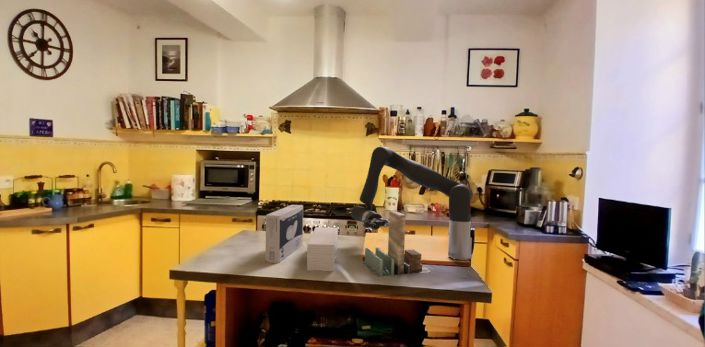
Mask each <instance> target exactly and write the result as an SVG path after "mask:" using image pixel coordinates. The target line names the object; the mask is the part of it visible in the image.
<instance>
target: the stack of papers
mask: <svg viewBox="0 0 705 347" xmlns="http://www.w3.org/2000/svg"><path fill="white" fill-rule="evenodd" d="M338 234H339V228H338V227H333V226H332V227H327V226H326V227H325V226H324V227H323V226H322V227H321V226H320V227H319V226H315V228H314V230H313V232H312V234H311V236H310V238H309V241H308V242H307V243H306V244H307V245H306V246H307V252H306V253H307V257H306V259H307V260H306V271H313V270H322V271H321V272H324V271H325V272H327V271H328V272H334V271H335V268H336V267H335V266H336V260H337V258H336V257H337V254H338V253H337V252H338V245H339V243H338V237H339V236H338Z"/></svg>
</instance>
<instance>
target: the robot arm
mask: <svg viewBox="0 0 705 347" xmlns="http://www.w3.org/2000/svg"><path fill="white" fill-rule="evenodd" d="M384 167H389V168H391V169H394V170H395V171H398V172H399V173H400V174H402V175H403V176H404V177H406V178H407V179H408V180H409V181H412V182H413V183H415V184H418V185H420V186H422V187H424V188H427V189H430V190H432V191H433V190H434V191H437V192H440V193H442V194H444V195H446V196H448V215H449V222H448V223H449V224H448V226H449V228H448V247H447V257H448V256H449V257H451V258H455V259H463V260H462V261H467V260H469V259H471V258H472V243H473V238H472V237H471V222H472V221H471V219H472V215H471V201H472V199H473V197H474V192H473V190H472V188H471V187H470V186H469V185H467V184H465V183H462V182H458V181H455V180H453V179H450V178H448V177H447V176H444V175H443V174H441V173H440V172H437V171H436V170H433V169H432V168H430V167H429V166H426V165H425V164H422V163H420V162H418V161H415V160H412V159H409V158H407V157H405V156H402V155H401V154H399V153H397V152H396V151H394V150H392V149H391V148H390V147H386V146H377V147H375V148H374V149H373V150H372V152H371V157H370V163H369V168H368V172H367V175H366V180H365V183H364V185H363V187H362V190H361V193H360V196H359V201H360V203H363V204H364V205H365V207H364V206H360V205H354V206H353V207H352V208H351V209H350V210H351V211H350V216H351V218H352V219H353V220H355V221H359V222H361V223H362V227H364V228H365V229H371V230H378V229H380V228H386V229H387V228H389V219H386V218H385V219H384V218H383V216H382V215H381V214H380V213H379V212H378V213H377V212H376V211H373V205H374V200H375V197H376V195H377V193H378V188H379V180H380V176H381V172H382V170H383V169H384ZM449 257H448V258H449ZM451 258H450V259H451ZM455 259H454V260H455Z"/></svg>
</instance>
